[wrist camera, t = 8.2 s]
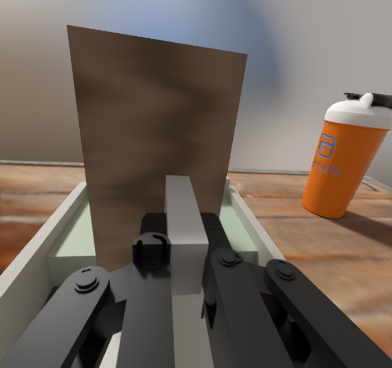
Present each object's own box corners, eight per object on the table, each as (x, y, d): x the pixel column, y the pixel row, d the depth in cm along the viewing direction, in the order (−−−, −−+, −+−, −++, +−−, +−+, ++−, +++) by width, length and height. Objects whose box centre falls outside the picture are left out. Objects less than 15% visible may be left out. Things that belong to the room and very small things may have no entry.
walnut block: (98, 279, 16) (66, 24, 9) (113, 214, 24) (102, 52, 17) (210, 267, 18) (247, 54, 12) (190, 212, 26) (205, 66, 20)
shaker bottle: (322, 196, 44) (362, 95, 36) (361, 220, 37) (423, 98, 28) (286, 197, 42) (320, 89, 34) (319, 223, 34) (373, 91, 26)
